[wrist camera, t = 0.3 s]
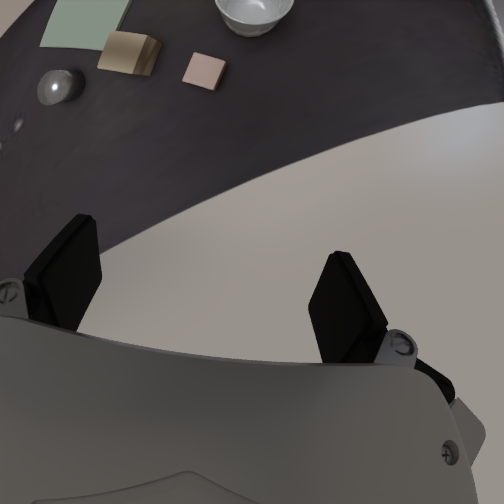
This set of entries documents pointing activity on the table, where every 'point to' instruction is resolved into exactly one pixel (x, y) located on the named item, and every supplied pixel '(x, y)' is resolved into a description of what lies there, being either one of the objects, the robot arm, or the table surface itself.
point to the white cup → (252, 15)
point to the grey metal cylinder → (60, 86)
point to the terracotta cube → (204, 71)
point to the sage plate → (84, 23)
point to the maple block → (129, 53)
